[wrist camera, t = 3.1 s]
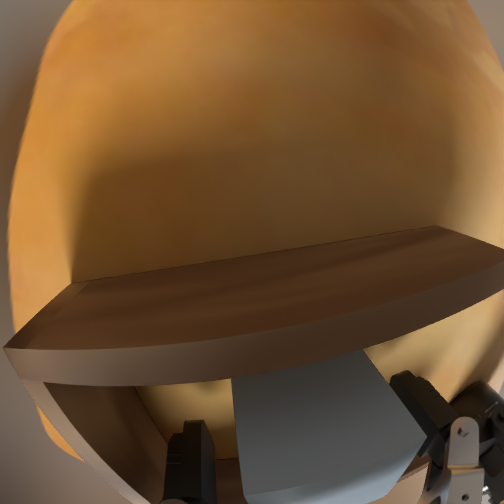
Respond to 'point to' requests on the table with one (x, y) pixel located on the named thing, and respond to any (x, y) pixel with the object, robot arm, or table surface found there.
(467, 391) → the supplement bottle
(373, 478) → the slate block
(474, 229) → the table surface
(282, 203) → the table surface
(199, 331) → the brown three-sided frame
